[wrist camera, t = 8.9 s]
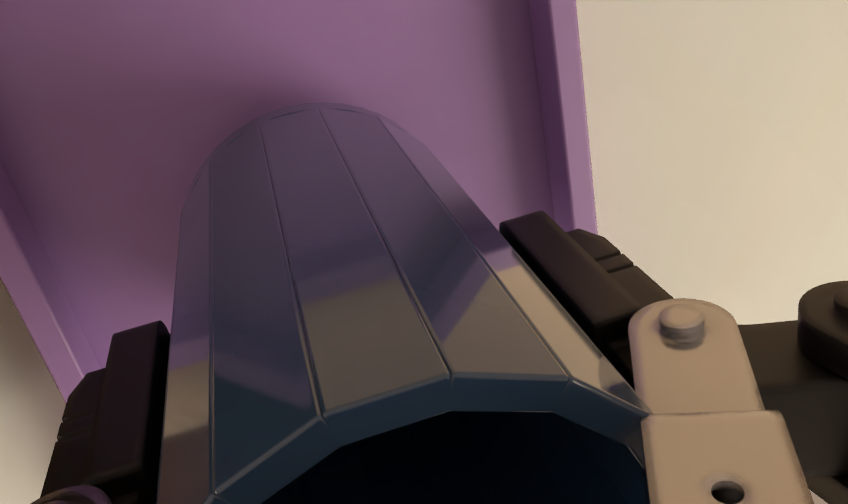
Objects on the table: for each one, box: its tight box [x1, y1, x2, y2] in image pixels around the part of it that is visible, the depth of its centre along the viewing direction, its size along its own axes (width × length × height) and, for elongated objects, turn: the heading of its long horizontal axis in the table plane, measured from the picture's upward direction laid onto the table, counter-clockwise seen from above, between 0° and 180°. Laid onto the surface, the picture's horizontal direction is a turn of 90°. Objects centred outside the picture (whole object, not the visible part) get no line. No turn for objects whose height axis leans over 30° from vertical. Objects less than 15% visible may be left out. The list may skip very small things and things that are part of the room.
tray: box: [0, 0, 598, 403], centre depth 17 cm, size 14×12×2 cm
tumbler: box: [156, 102, 654, 504], centre depth 12 cm, size 6×6×10 cm
